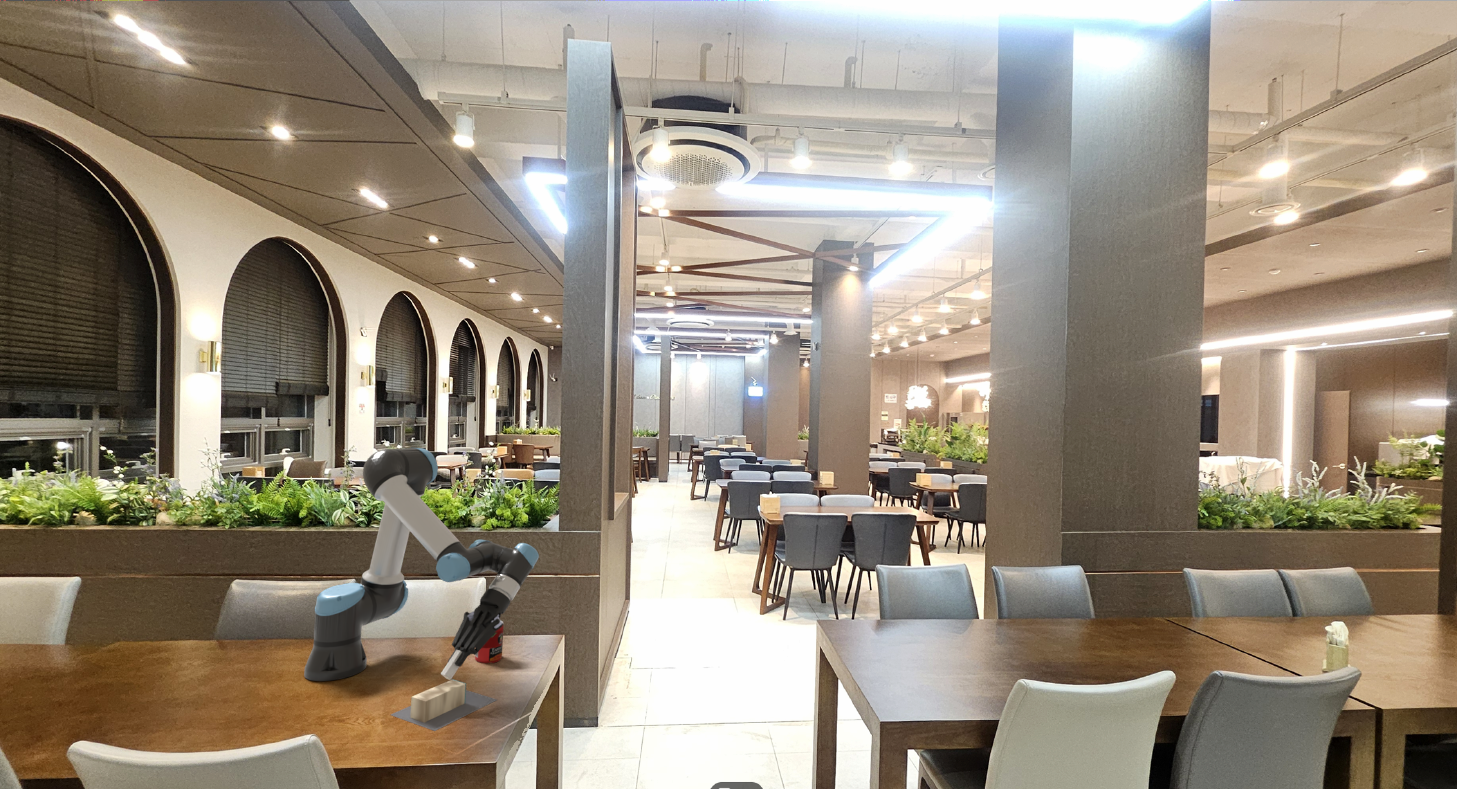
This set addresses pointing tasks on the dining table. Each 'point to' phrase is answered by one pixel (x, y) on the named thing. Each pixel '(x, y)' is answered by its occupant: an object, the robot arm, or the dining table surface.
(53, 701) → the dining table surface
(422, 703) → the beech block
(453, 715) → the mat
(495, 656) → the canned food
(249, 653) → the dining table surface
